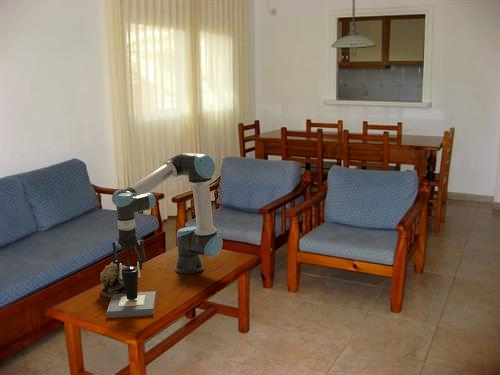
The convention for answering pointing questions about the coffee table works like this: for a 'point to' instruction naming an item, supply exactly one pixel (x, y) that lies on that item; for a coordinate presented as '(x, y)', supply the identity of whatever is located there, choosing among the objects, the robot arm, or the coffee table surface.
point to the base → (132, 305)
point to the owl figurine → (111, 281)
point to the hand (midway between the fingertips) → (130, 277)
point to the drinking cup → (130, 281)
